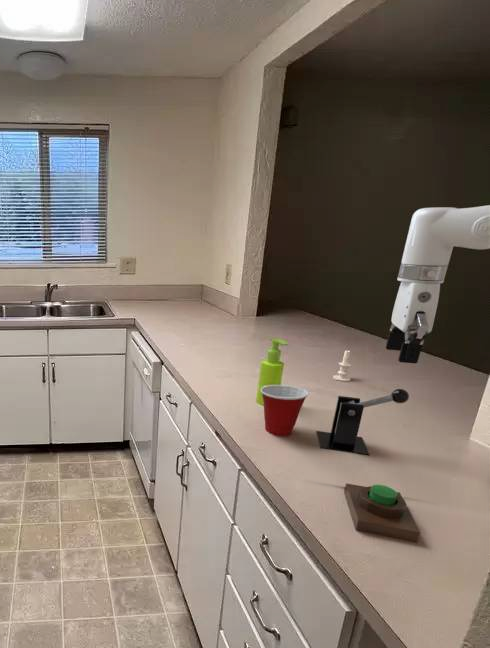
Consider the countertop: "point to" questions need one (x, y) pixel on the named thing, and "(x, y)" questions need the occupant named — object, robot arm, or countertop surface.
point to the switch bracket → (345, 428)
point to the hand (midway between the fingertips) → (400, 355)
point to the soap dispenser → (271, 368)
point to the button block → (380, 515)
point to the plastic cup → (282, 407)
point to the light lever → (386, 398)
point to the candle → (343, 368)
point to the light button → (383, 494)
